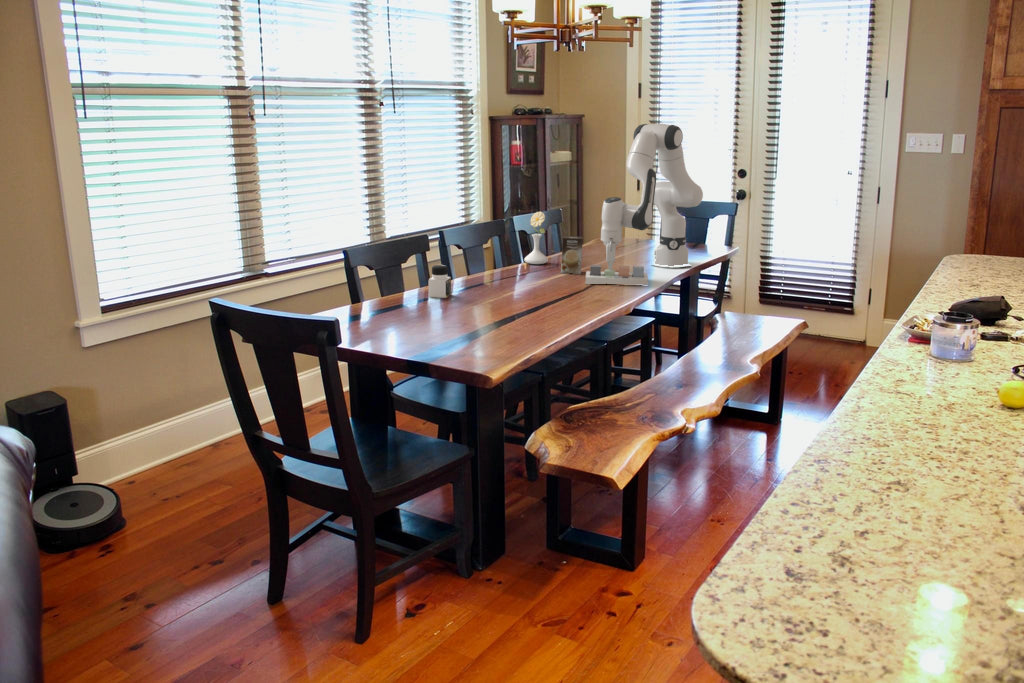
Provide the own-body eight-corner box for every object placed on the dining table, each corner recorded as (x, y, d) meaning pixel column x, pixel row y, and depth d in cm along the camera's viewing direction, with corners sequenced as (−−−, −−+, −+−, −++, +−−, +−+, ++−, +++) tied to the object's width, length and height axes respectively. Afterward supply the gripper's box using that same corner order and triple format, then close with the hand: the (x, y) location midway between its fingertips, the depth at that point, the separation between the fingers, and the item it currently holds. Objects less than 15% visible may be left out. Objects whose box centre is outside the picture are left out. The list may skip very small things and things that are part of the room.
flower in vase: (520, 262, 409) (520, 209, 403) (541, 260, 414) (542, 208, 407) (532, 267, 398) (533, 212, 391) (553, 265, 403) (555, 211, 396)
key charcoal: (590, 274, 370) (590, 264, 368) (600, 275, 369) (601, 265, 368) (590, 276, 365) (590, 266, 364) (600, 277, 365) (600, 267, 364)
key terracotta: (618, 275, 368) (618, 265, 367) (628, 276, 368) (629, 266, 367) (618, 277, 364) (618, 267, 363) (628, 278, 364) (629, 267, 363)
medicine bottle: (446, 298, 332) (445, 267, 329) (428, 297, 334) (428, 266, 331) (451, 294, 339) (450, 264, 336) (433, 293, 341) (433, 263, 337)
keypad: (586, 277, 375) (586, 270, 374) (646, 279, 372) (646, 272, 371) (585, 284, 362) (585, 276, 361) (647, 286, 359) (648, 278, 358)
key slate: (632, 276, 368) (633, 266, 367) (642, 276, 367) (643, 266, 366) (632, 278, 364) (633, 268, 362) (643, 278, 363) (643, 268, 362)
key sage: (604, 279, 369) (604, 269, 368) (614, 279, 369) (614, 269, 368) (604, 281, 365) (604, 271, 364) (614, 281, 365) (614, 271, 364)
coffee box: (560, 273, 384) (561, 237, 379) (561, 271, 390) (562, 235, 385) (581, 274, 383) (582, 238, 378) (581, 271, 389) (582, 236, 385)
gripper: (619, 240, 352) (617, 273, 356) (618, 233, 371) (617, 264, 375) (603, 240, 353) (602, 273, 356) (604, 232, 372) (602, 264, 376)
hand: (610, 268), depth 366 cm, fingers closed
